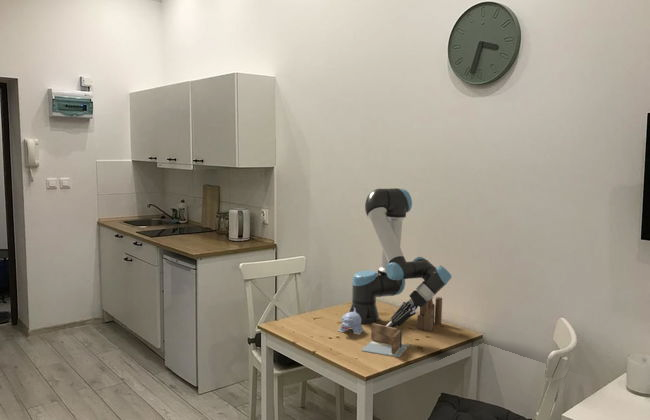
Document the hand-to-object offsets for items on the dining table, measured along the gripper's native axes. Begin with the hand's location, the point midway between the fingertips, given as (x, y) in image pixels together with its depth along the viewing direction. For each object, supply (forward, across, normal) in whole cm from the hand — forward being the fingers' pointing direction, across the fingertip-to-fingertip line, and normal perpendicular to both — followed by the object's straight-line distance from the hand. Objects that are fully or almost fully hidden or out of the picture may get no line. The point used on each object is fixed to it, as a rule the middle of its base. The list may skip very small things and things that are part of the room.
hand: (382, 334), depth 231 cm
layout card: (+3, -8, -2) cm, 9 cm away
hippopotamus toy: (+11, +14, +6) cm, 19 cm away
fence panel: (+2, -3, -2) cm, 4 cm away
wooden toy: (-17, +21, -22) cm, 35 cm away
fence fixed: (0, -12, -5) cm, 13 cm away
